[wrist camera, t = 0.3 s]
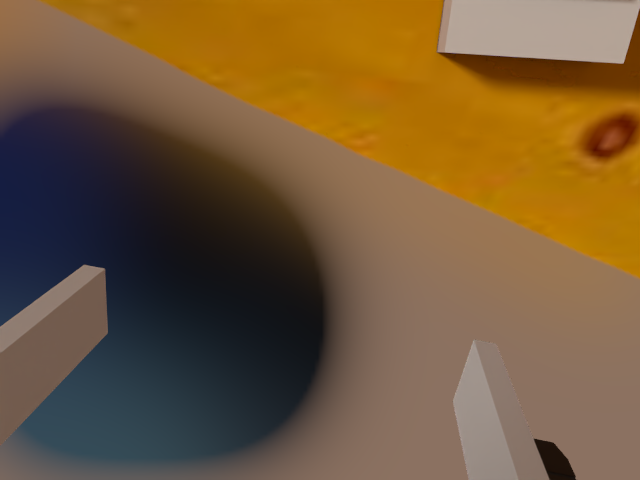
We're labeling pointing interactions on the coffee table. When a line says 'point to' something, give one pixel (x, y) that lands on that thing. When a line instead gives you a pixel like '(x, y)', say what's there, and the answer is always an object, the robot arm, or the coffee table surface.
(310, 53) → the coffee table surface
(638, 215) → the coffee table surface
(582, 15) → the socket
